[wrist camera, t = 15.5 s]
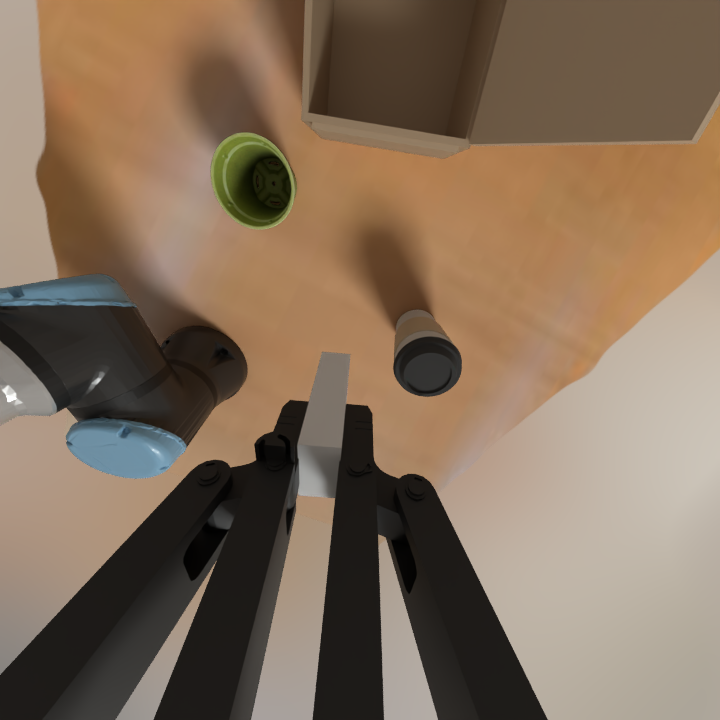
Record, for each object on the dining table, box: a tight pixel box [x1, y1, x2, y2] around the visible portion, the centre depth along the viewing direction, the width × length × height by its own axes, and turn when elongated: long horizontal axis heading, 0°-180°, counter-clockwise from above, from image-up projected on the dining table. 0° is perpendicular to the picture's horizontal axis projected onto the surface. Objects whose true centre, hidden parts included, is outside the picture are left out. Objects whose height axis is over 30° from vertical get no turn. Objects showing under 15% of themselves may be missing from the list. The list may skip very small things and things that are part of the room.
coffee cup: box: [393, 310, 462, 397], centre depth 44 cm, size 9×9×15 cm
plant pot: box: [211, 132, 297, 230], centre depth 37 cm, size 9×9×9 cm
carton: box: [301, 0, 507, 159], centre depth 28 cm, size 16×21×12 cm
